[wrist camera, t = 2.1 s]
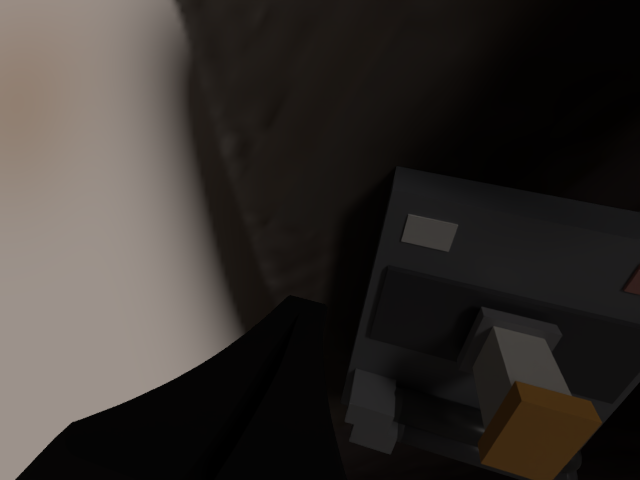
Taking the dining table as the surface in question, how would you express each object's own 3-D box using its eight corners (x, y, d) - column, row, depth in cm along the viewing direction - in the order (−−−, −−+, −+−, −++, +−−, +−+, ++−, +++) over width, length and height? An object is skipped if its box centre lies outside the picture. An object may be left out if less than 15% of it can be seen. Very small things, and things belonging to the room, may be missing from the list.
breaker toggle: (558, 322, 11) (616, 427, 8) (522, 379, 12) (560, 488, 9) (482, 304, 11) (508, 396, 8) (455, 361, 13) (469, 460, 10)
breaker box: (674, 219, 12) (810, 299, 8) (539, 410, 17) (579, 517, 13) (396, 166, 14) (388, 210, 10) (350, 356, 19) (332, 438, 15)
